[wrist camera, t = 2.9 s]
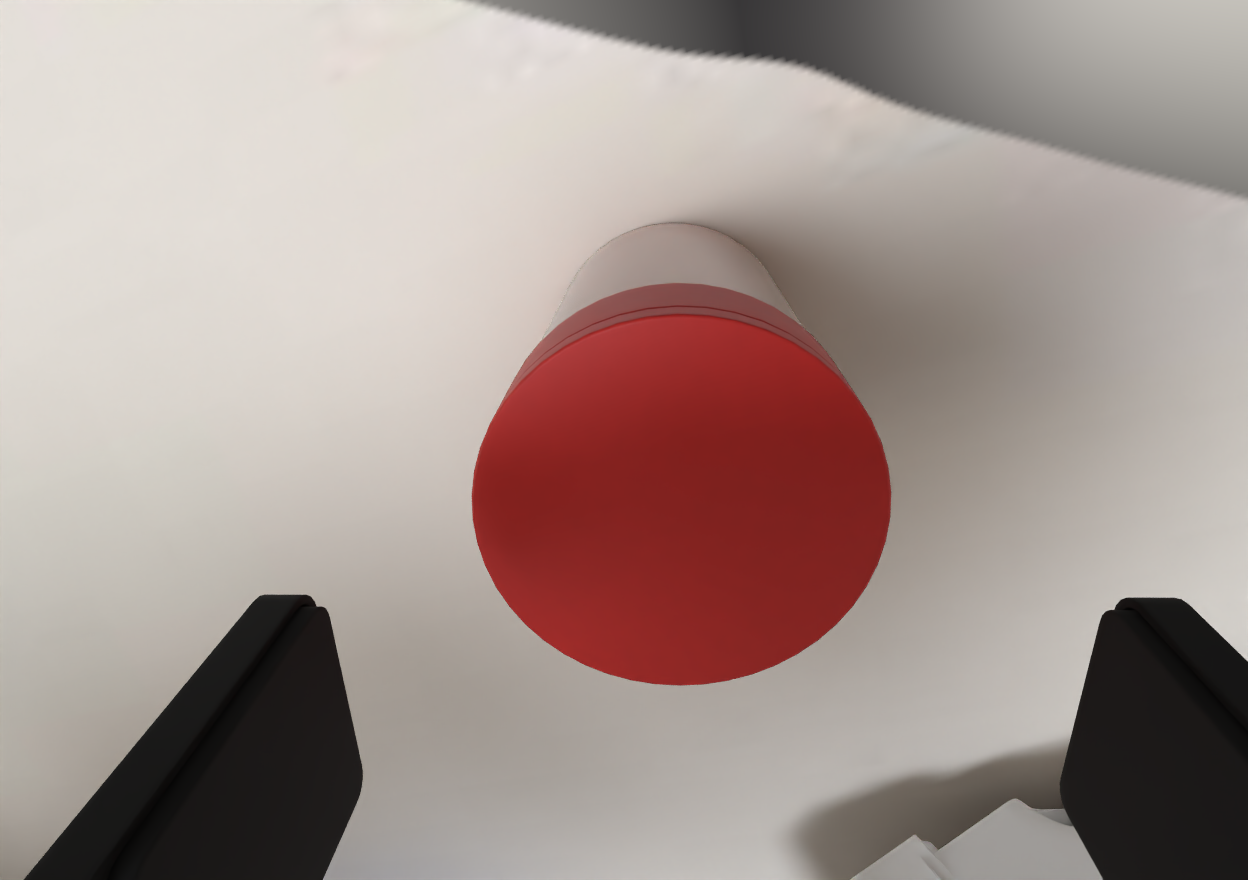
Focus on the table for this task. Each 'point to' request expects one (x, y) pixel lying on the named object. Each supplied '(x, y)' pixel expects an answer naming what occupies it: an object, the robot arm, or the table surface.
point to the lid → (680, 487)
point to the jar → (669, 267)
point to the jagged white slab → (995, 851)
